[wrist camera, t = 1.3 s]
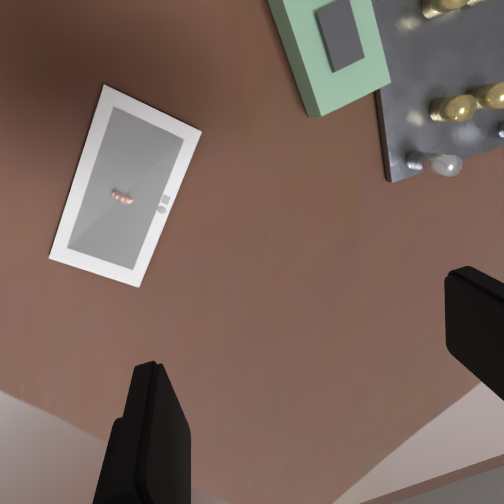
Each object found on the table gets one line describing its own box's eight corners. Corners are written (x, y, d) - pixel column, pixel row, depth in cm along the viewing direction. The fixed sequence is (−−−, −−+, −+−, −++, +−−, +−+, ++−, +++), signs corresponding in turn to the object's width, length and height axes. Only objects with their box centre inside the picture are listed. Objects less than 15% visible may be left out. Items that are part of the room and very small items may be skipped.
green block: (251, -43, 25) (261, -72, 22) (324, -79, 25) (348, -114, 22) (307, 117, 30) (324, 116, 26) (369, 87, 30) (395, 81, 26)
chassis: (355, -49, 26) (400, -96, 20) (524, -99, 27) (612, -157, 21) (386, 181, 33) (426, 192, 27) (520, 136, 33) (585, 139, 28)
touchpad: (53, 253, 31) (43, 262, 29) (107, 85, 27) (100, 82, 25) (140, 282, 33) (137, 292, 31) (201, 131, 29) (202, 132, 27)
